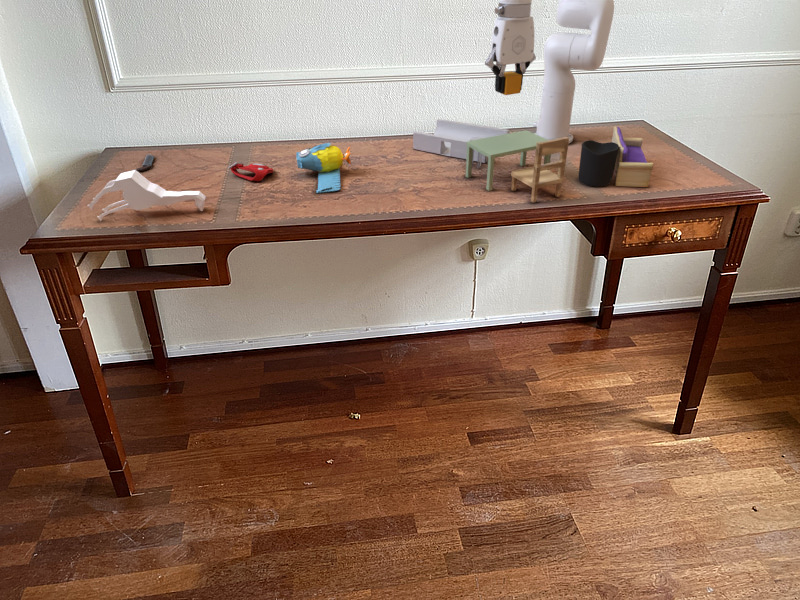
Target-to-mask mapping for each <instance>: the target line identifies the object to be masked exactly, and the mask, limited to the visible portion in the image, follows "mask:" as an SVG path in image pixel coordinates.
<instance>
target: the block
mask: <svg viewBox="0 0 800 600" xmlns="http://www.w3.org/2000/svg"><path fill="white" fill-rule="evenodd" d="M515 72H516V71H505V72H504V75H503V76H504V77H505V89H504V93H500V94H502V95H503V96H510V95H516V94H521V91H522V89H521V79H522V75H520V74H518V73H515ZM520 90H521V91H520Z"/></svg>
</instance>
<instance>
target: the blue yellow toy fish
mask: <svg viewBox="0 0 800 600" xmlns="http://www.w3.org/2000/svg"><path fill="white" fill-rule="evenodd" d="M350 149H351V146H349V147H348V148H347V149H346V151H345V153H344V154H343V152H342V149H341V148H340V147H338V146H337V145H332V144H331V143H330V142H324V143H320V144H315V145H314V146H313V147H307V148H304V149H302V150H300V151H299V152H298V151H296V153H295V156H296V157H295V158H296V164H297V168H298V169H301V170H308V171H312V172H318V175H317V189H316V191H315V192H316V194H323V193H324V194H325V193H330V192H337V191H340V190H341V189H342V188H341V187H342V185H341V167H342V166H343V164H344V160H345V161H346V162H347V164H349V165H352V163H351V162H352V161H351V157H352V155H351V150H350Z"/></svg>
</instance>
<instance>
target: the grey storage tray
mask: <svg viewBox="0 0 800 600" xmlns="http://www.w3.org/2000/svg"><path fill="white" fill-rule="evenodd" d="M509 133H510V129H506V128H500V127H494V126H493V127H492V126H486V125H481V124H474V123H467V122H462V121H454V120H448V119H443V118H437V119H436V126H435V130H434V132H433V133H427V132H421V131H416V130H415V131H414V132H413V133H412V149H413V150H417V151H423V152H428V153H431V154H438V155H441V156H447V157H452V158H457V159H461V160H466V157H467V145H466V142H467V141H472V140H477V139H483V138H488V137H493V136H498V135H503V134H509ZM474 162H477V167H476V168H477V169H480V168H481V167H482V163H483V164H486V163H488V157H487V156H485V155H483V154H481V153H479V152H478V151H476V150H474V149H473V155H472V166H473V165H474Z"/></svg>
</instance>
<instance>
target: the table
mask: <svg viewBox="0 0 800 600" xmlns="http://www.w3.org/2000/svg"><path fill="white" fill-rule="evenodd" d="M534 133H535V132H532V131H530V130H528V129H524V130H520V131H515V132H509V134H503V135H498V136H493V137H488V138H483V139H477V140H472V141H467V142H466V145H467V157H466V159H465V178H467V179H469V178H472V173H473V165H472V155H473V149H474V150H476V151H478V152H479V153H481V154H483V155H485V157H486V156H487V157H488V161H487V171H486V172H487V173H486V186H485V189H486V191H488V192H490V191H493V188H494V187H493V185H494V173H495V172H494V171H495V159H497V158H500V157H506V156H511V155H515V154H520V157H519V166H521V167H525V166H526V165H527V153H528V152H529V151H536V144H537V143H538V142H543V141H548V140H547V139H545V138H543V137H541V136H538V135H536V134H534ZM543 157H544V158H543V164H546V163H551V157H552V154H549V155H544V156H543ZM548 170H549V171H550V169H548Z"/></svg>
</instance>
